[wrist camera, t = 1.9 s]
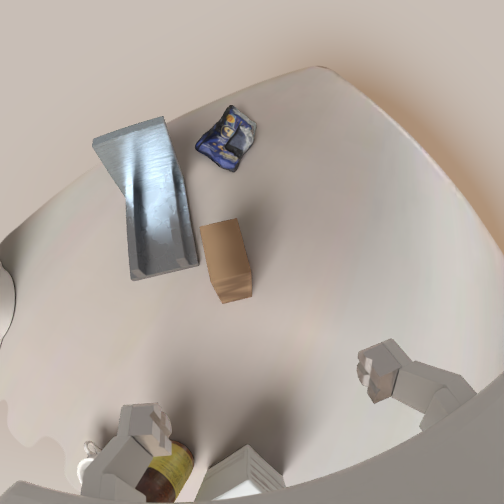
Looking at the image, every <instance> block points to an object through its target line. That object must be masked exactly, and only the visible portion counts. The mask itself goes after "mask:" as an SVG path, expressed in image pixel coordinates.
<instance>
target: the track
mask: <svg viewBox="0 0 504 504" xmlns="http://www.w3.org/2000/svg"><path fill="white" fill-rule="evenodd" d="M92 147H93V148H94V150H95V152H96V153H97V155H98V157H99V158H100V160H101V161H102V163H103V164H104V166H105V168H106V169H107V171H108V172H109V174H110V175H111V177H112V178H113V180H114V181H115V183H116V184H117V186H118V187H119V189H120V190H121V192H122V193H123V195H124V196H125V198H126V222H127V240H128V254H129V265H130V276H131V280H132V281H137V280H141V279H145V278H149V277H154V276H158V275H162V274H166V273H170V272H175V271H179V270H183V269H187V268H191V267H196V266H199V263H198V258H197V252H196V247H195V242H194V236H193V231H192V225H191V220H190V214H189V208H188V202H187V196H186V190H185V183H184V178H183V175H182V172H181V169H180V166H179V163H178V160H177V157H176V154H175V151H174V148H173V145H172V141H171V138H170V135H169V132H168V129H167V126H166V123H165V120H164V117H163V116H162V117H158V118H154V119H151V120H147V121H144V122H141V123H138V124H134V125H131V126H128V127H125V128H122V129H119V130H116V131H114V132H111V133H108V134H105V135H103V136H100V137H97V138H94V139H93V144H92Z"/></svg>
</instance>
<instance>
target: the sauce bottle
mask: <svg viewBox="0 0 504 504" xmlns="http://www.w3.org/2000/svg"><path fill="white" fill-rule="evenodd" d="M170 441H171V442H172V455H169V456H157V457H153V459H152V461H151V462H150V464H149V466H148V467H147V469H146V471H145V472H144V474H143V476H142V477H141V479H140V481H139V482H138V484H137V486H136V487H135V489H136V490H138V491H139V492H141V493H142V494H144V495H145V496H146V503H174V501H175V500H176V498H177V497H178V495H179V493H180V491H181V490H182V488H183V486H184V485H185V483H186V481H187V479H188V478H189V476H190V474H191V472H192V469H193V466H194V460H193V456H192V453H191V452H190V451H189V449H188V448H187V447H185V446H184V445H183V444H181V443H179V442H177V441H173V440H170Z"/></svg>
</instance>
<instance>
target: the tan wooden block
mask: <svg viewBox="0 0 504 504" xmlns="http://www.w3.org/2000/svg"><path fill="white" fill-rule="evenodd" d="M200 232H201V237H202V242H203V247H204V252H205V257H206V262H207V267H208V272H209V276H210V281H211V283H212V285H213V287H214V289H215V291H216V293H217V295H218V296H219V298H220V300H221V302H222V304H224V303H228V302H232V301H236V300H240V299H245V298H249V297H252V286H251V269H250V265H249V261H248V258H247V254H246V250H245V246H244V243H243V239H242V235H241V231H240V228H239V224H238V220H237V218H235V219H231V220H226V221H222V222H218V223H214V224H209V225H205V226H201V227H200Z"/></svg>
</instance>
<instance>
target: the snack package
mask: <svg viewBox="0 0 504 504" xmlns="http://www.w3.org/2000/svg"><path fill="white" fill-rule="evenodd" d="M251 126H253V127H254V129H253V131H254V134H253V136H252V133H251V132H250V130H252V128H251ZM255 130H256V124H255V122H252V121H251V120H249V119H248V117H247V116H245V115H244V114H243V113H241V112H239V111H238V109H237V108H236V107H234V106H233V105H230V106H229V107H228V108H227V109H226V110H225V112H224V114H223V116H222V117H221V119H220V120H219V121H218V122H217V123H216V124H215V125H214V126H213V127H212V128H211V129H210V130H209V131H208V132H206V133H205V134H203V136H202V137H201V138H200V140H199V141H198V142H197V143H196V145H195V149H196V150H197V151H198V152H200V153H202V154H204V155H205V156H207V157H208V158H210V159H211V160H212V161H213V162H215V161H216V162H218V163H219V164H220V166H221V168H223V169H227V170H229V171H232V172H235V171H236V170H237V168H238V165H239V160H240V159H241V158H242V155H243V154H244V153H245V152H246V151H247V150H248V149H249V148H250V146H251V145H252V144H253V141H254V136H255ZM216 162H215V163H216ZM218 163H216V164H217V165H218V166H219V164H218ZM220 166H219V167H220Z"/></svg>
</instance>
